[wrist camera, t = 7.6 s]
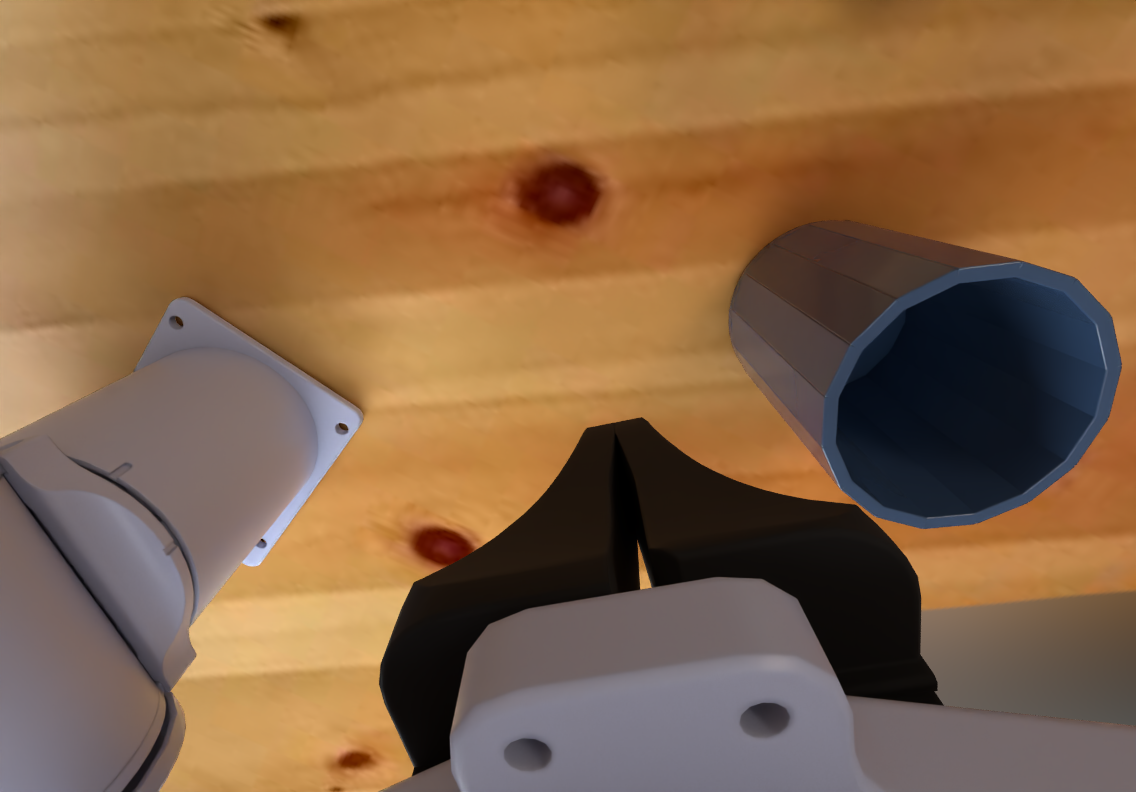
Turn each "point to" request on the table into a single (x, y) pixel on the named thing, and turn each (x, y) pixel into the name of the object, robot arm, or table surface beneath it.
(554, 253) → the table surface
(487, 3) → the table surface
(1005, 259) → the blue cup
